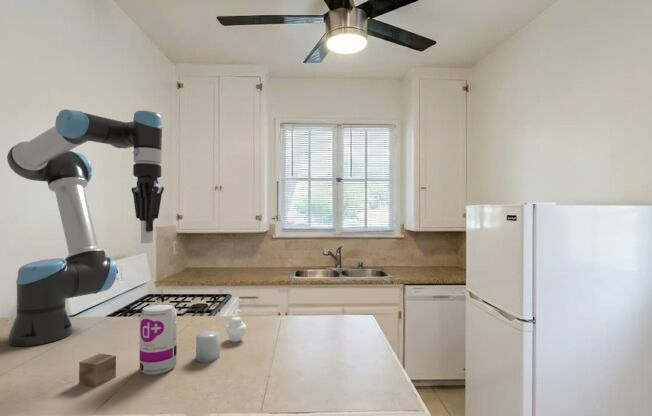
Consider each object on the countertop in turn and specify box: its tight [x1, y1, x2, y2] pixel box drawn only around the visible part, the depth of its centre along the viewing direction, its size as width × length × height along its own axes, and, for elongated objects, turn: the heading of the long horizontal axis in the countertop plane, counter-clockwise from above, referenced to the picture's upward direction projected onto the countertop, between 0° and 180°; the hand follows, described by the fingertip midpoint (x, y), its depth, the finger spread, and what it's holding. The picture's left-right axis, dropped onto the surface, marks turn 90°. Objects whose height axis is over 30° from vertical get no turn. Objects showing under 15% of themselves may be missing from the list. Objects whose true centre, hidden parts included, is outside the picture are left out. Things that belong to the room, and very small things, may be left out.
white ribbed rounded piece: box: [225, 316, 247, 343], centre depth 106 cm, size 6×6×7 cm
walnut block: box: [78, 352, 117, 388], centre depth 80 cm, size 5×5×5 cm
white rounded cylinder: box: [195, 330, 221, 363], centre depth 93 cm, size 6×6×6 cm
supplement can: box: [138, 303, 178, 376], centre depth 87 cm, size 8×8×15 cm
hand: (146, 242), depth 105 cm, fingers closed
